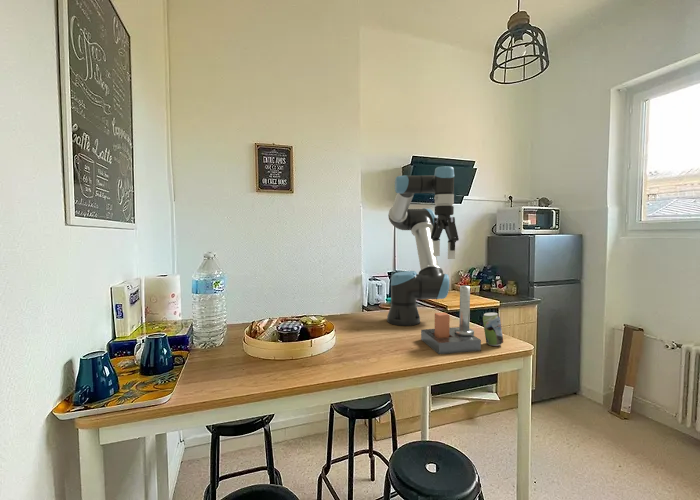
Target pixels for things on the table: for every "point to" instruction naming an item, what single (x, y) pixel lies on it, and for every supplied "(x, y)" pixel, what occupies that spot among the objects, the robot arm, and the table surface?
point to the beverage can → (492, 329)
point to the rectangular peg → (442, 325)
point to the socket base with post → (455, 331)
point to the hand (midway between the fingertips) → (443, 257)
